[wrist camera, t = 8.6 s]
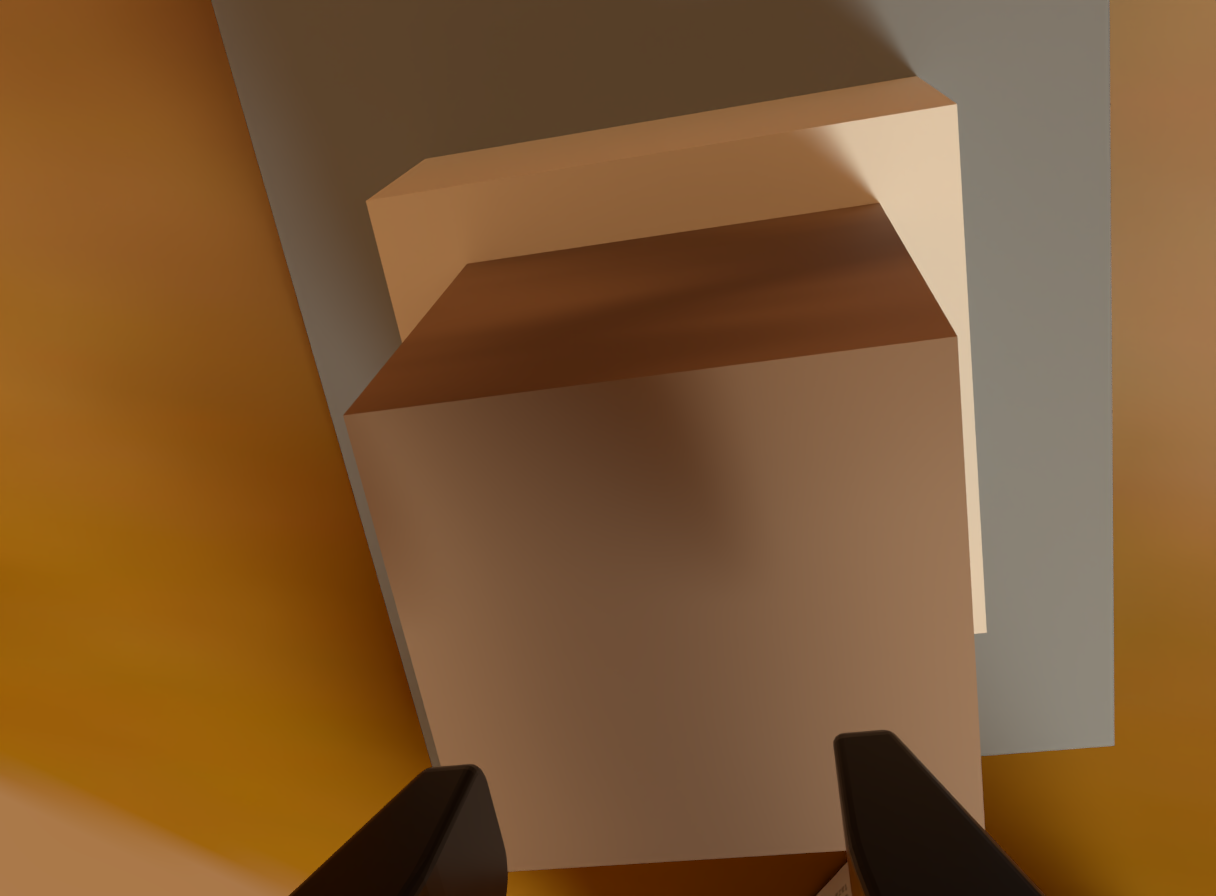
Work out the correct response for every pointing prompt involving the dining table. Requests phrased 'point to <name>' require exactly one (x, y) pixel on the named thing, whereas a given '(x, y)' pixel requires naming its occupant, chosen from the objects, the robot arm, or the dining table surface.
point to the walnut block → (681, 534)
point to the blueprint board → (719, 47)
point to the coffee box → (838, 884)
